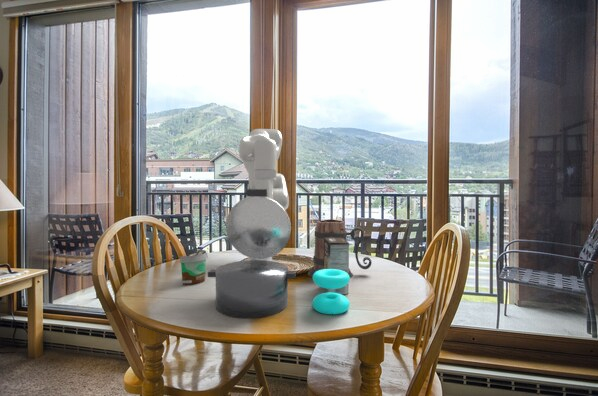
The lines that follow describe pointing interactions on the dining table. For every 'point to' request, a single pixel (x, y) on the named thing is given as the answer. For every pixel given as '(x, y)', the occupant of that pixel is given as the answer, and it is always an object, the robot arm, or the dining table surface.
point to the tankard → (333, 230)
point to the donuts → (330, 301)
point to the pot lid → (258, 225)
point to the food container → (193, 267)
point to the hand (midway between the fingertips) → (265, 228)
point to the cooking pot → (251, 288)
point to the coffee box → (337, 258)
